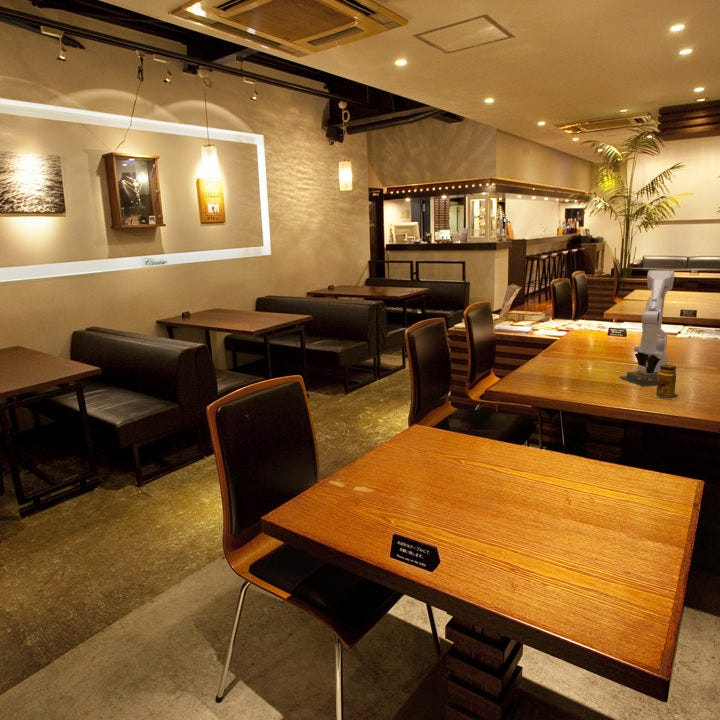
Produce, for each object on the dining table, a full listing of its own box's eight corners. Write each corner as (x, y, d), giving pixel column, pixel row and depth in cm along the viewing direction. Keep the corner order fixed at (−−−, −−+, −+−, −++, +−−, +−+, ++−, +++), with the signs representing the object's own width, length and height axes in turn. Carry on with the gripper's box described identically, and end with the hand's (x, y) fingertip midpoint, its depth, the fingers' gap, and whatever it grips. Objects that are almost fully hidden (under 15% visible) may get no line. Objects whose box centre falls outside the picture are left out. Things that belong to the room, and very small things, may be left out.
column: (646, 379, 231) (647, 364, 229) (653, 381, 227) (655, 366, 225) (637, 380, 230) (638, 365, 228) (644, 382, 226) (646, 367, 224)
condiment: (652, 396, 208) (655, 366, 205) (658, 391, 214) (661, 361, 211) (674, 400, 203) (677, 369, 200) (679, 394, 210) (682, 364, 207)
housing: (647, 375, 236) (648, 368, 236) (672, 383, 223) (673, 376, 222) (619, 378, 233) (619, 371, 233) (643, 387, 220) (643, 379, 219)
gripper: (628, 337, 230) (625, 368, 233) (654, 343, 216) (650, 376, 220) (642, 335, 232) (639, 366, 235) (669, 342, 218) (665, 375, 221)
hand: (646, 371), depth 227 cm, fingers closed on column, 4 cm apart
